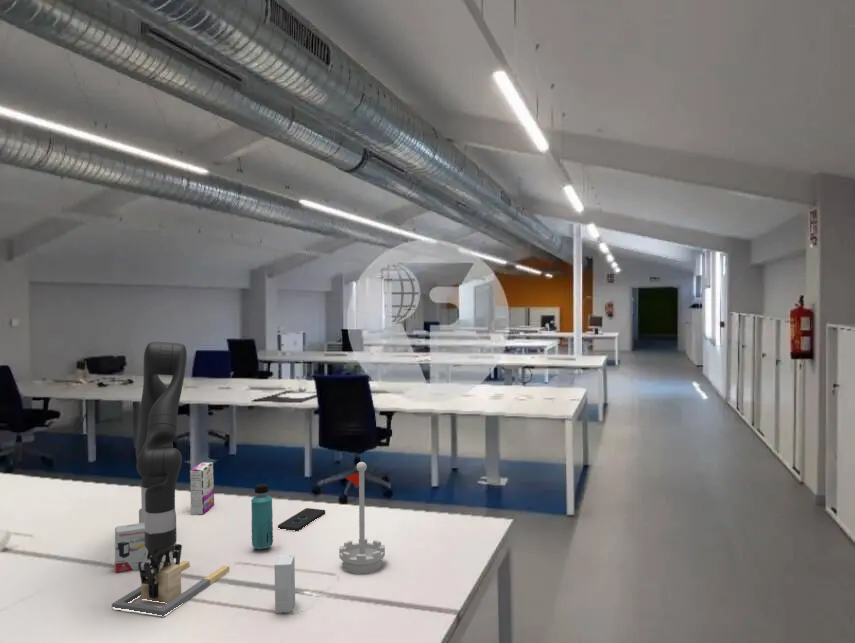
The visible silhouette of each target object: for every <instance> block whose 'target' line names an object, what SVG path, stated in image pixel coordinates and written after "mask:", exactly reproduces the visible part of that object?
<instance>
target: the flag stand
mask: <svg viewBox="0 0 855 643" xmlns="http://www.w3.org/2000/svg"><path fill="white" fill-rule="evenodd" d="M367 467H368V466H367V464H366V463H365V461H364V462H363V461H360V462H358V463H357V464H356V470H357V471H358V472H355V473H353V474H351V475H348V476H347V477H345V479H346V480H347V481H349V482H351V483H352V484H353V485H355V486H357V487H358V492H359V493H358V499H359V500H358V506H359V507H358V512H359V513H358V515H359V516H358V518H359V520H358V521H359V522H358V523H359V524H358V526H359V529H358V531H359V536H358V538H359V539H358V542H355V543H353V541H352V540H348V541H345V542H344V543H343V545H339V548H338V550H339V551H338V553H339V554H338V555H339V559H340V561H342V568H343V570H345V571H346V572H348V573H353V574H367V573H368V574H369V573H372V572H376V571H378V570H379V569H380V568H381V567H382V559H384V557H385V555H386V554H385V553H386V546H385V544H382V542H381V541H380V540H378V539H375V540H373V541H372V542H368V538H365V537H366V536H365V534H366V533H365V530H366V527H365V526H366V523H365V521H366V520H365V517H366V516H365V513H366V512H365V508H366V507H365V472H366V470H367ZM377 569H378V570H377Z"/></svg>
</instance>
